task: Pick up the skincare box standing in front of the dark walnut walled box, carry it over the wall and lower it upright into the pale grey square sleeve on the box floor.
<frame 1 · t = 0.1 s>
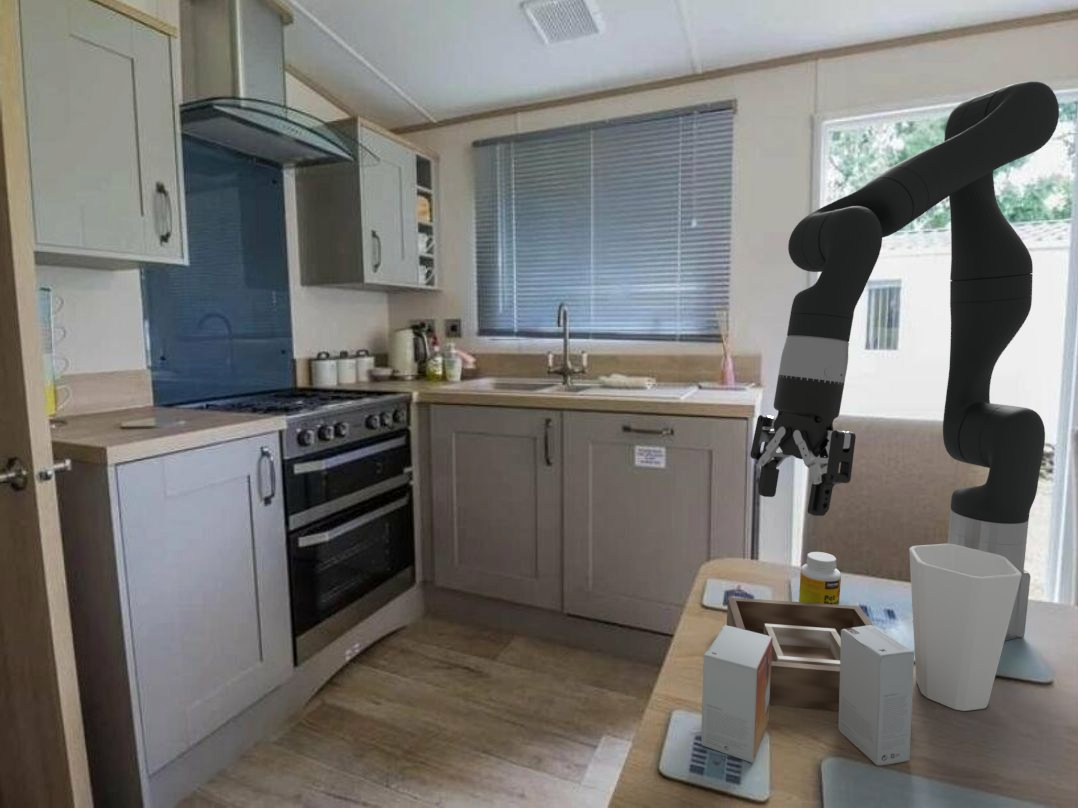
hand: (789, 504, 77), 22 cm above the table, tool pointing down, fingers open, 8 cm apart
supplement bottle: (817, 621, 94), on the table
cup: (950, 694, 75), on the table
skincare box: (870, 746, 66), on the table
small box: (735, 735, 68), on the table
walled box: (806, 668, 81), on the table
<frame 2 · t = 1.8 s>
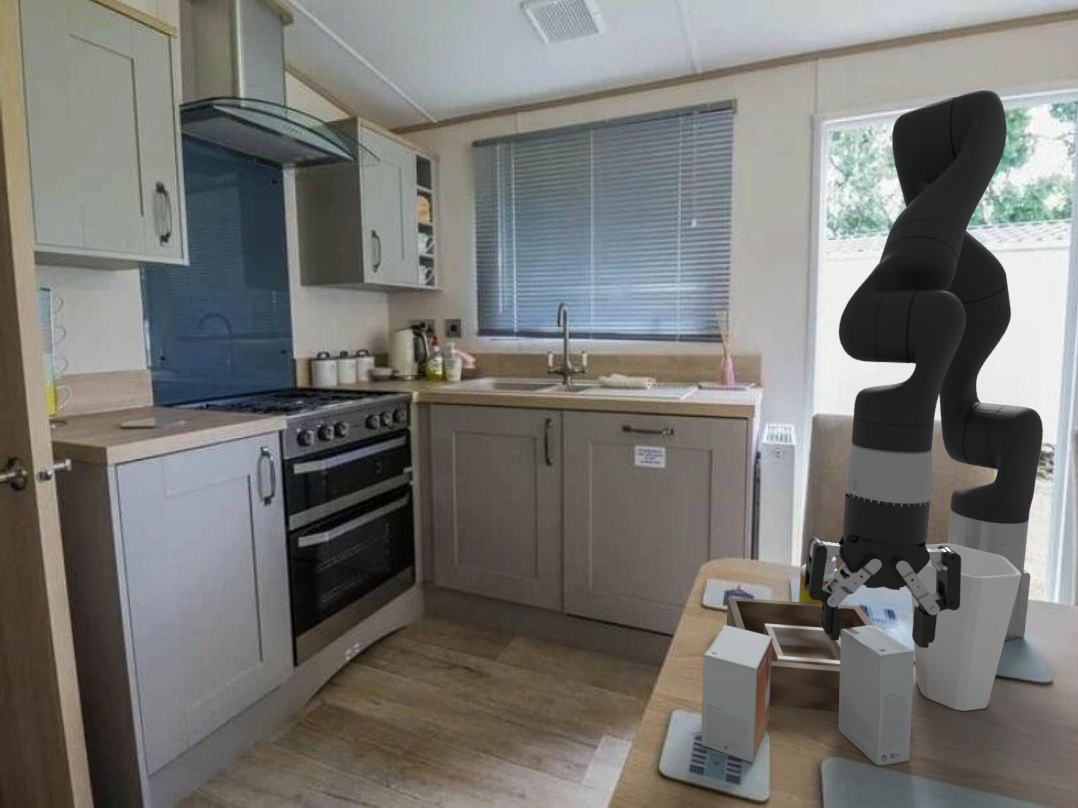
hand: (875, 640, 65), 12 cm above the table, tool pointing down, fingers open, 8 cm apart
nothing on the table moved.
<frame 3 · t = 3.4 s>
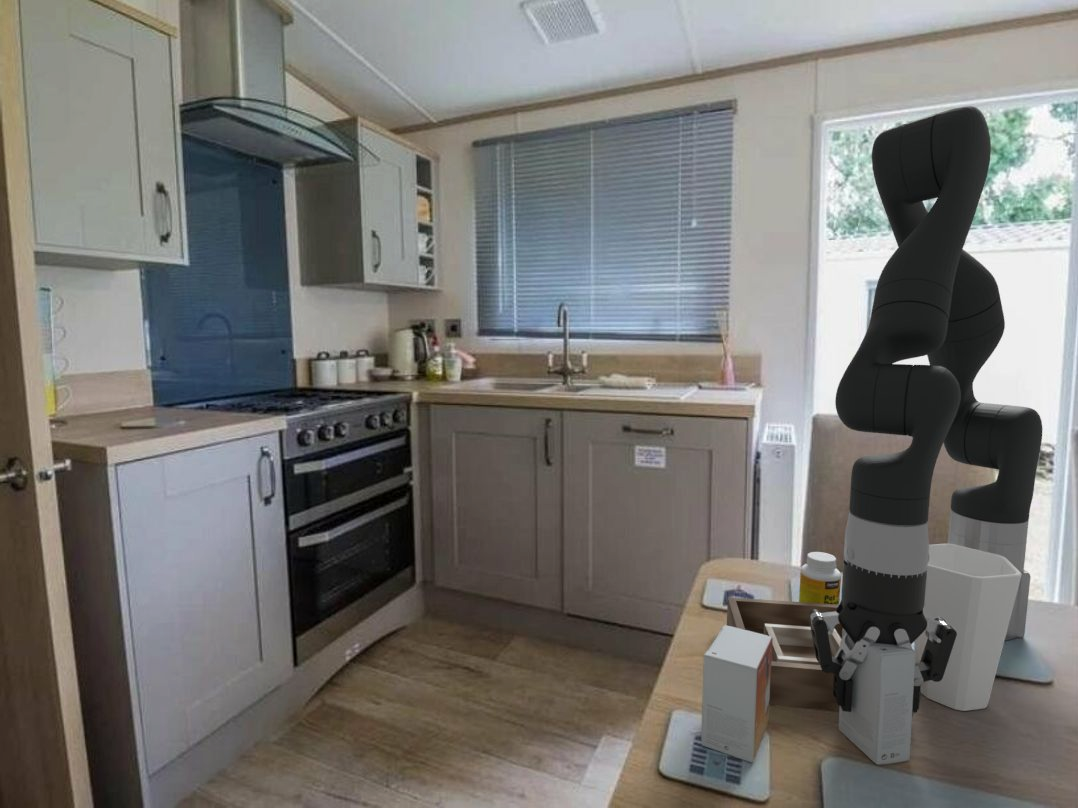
hand: (873, 709, 66), 4 cm above the table, tool pointing down, fingers closed on skincare box, 5 cm apart
skincare box: (870, 746, 66), on the table, touching gripper
everything else where it was.
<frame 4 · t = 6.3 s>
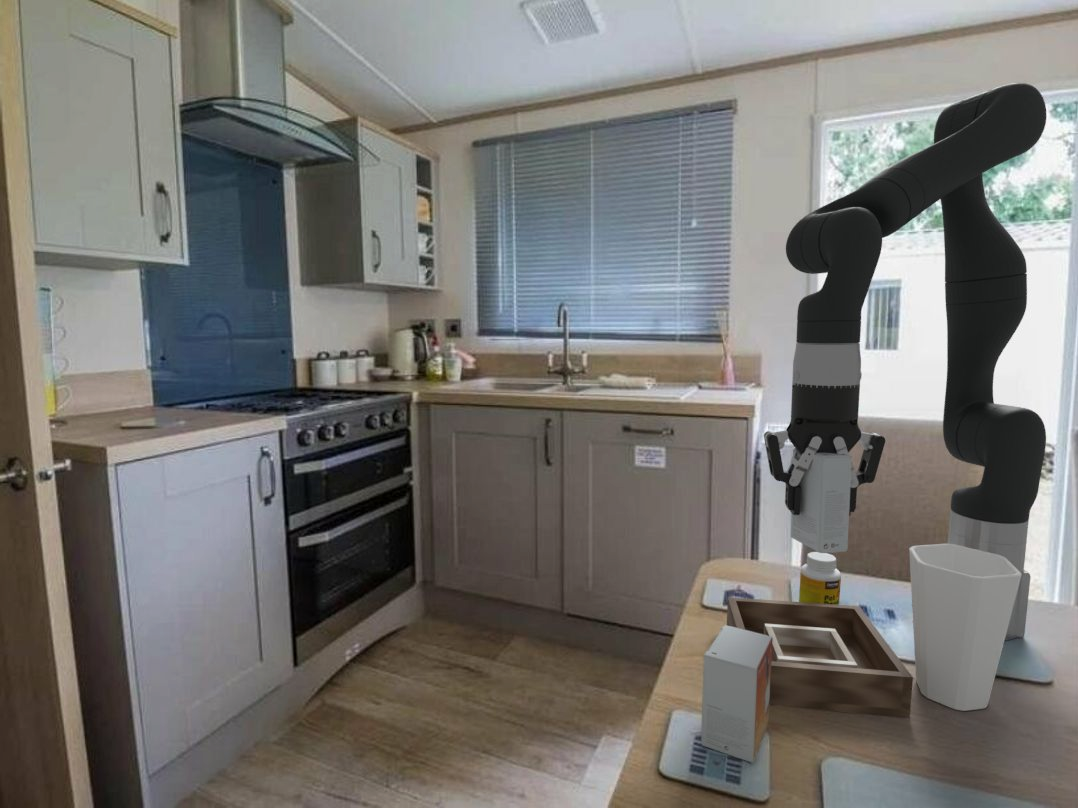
hand: (819, 513, 78), 21 cm above the table, tool pointing down, fingers closed on skincare box, 5 cm apart
skincare box: (816, 546, 78), point 17 cm above the table, touching gripper
everything else where it was.
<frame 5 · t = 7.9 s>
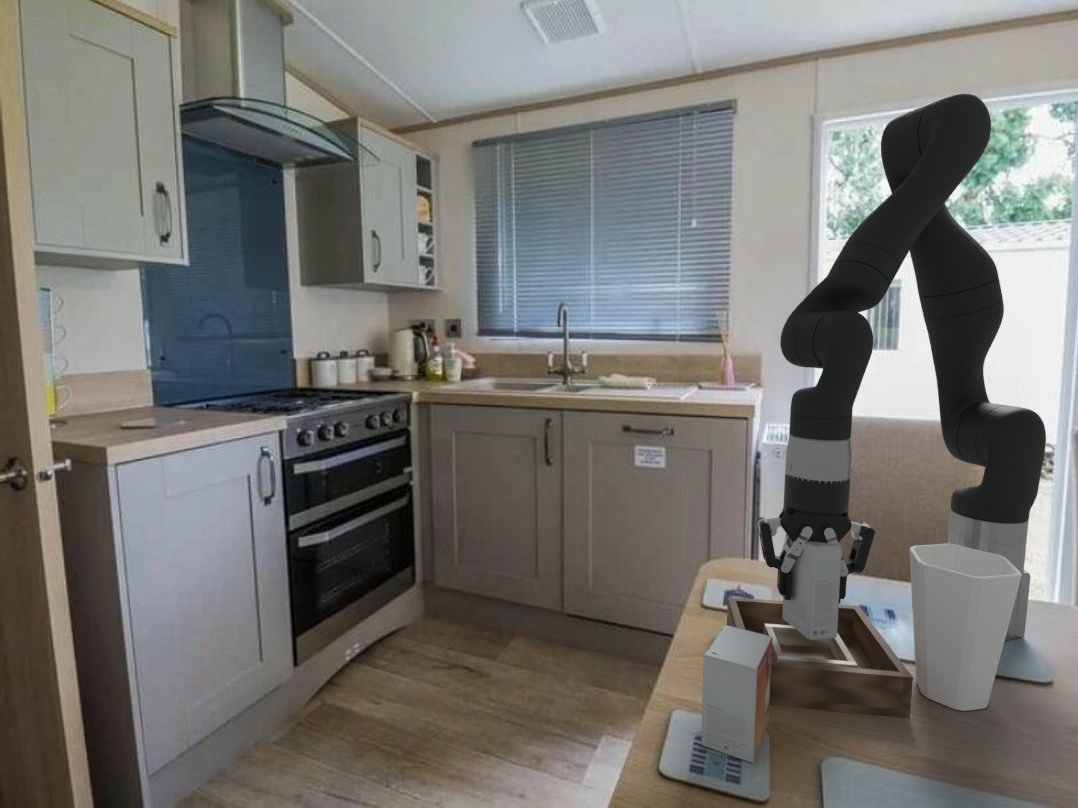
hand: (810, 598, 80), 10 cm above the table, tool pointing down, fingers closed on skincare box, 5 cm apart
skincare box: (806, 629, 80), point 5 cm above the table, touching gripper
everything else where it was.
when the fingers open (6 cm above the table, at t = 9.4 s): skincare box drops 1 cm, resting on walled box.
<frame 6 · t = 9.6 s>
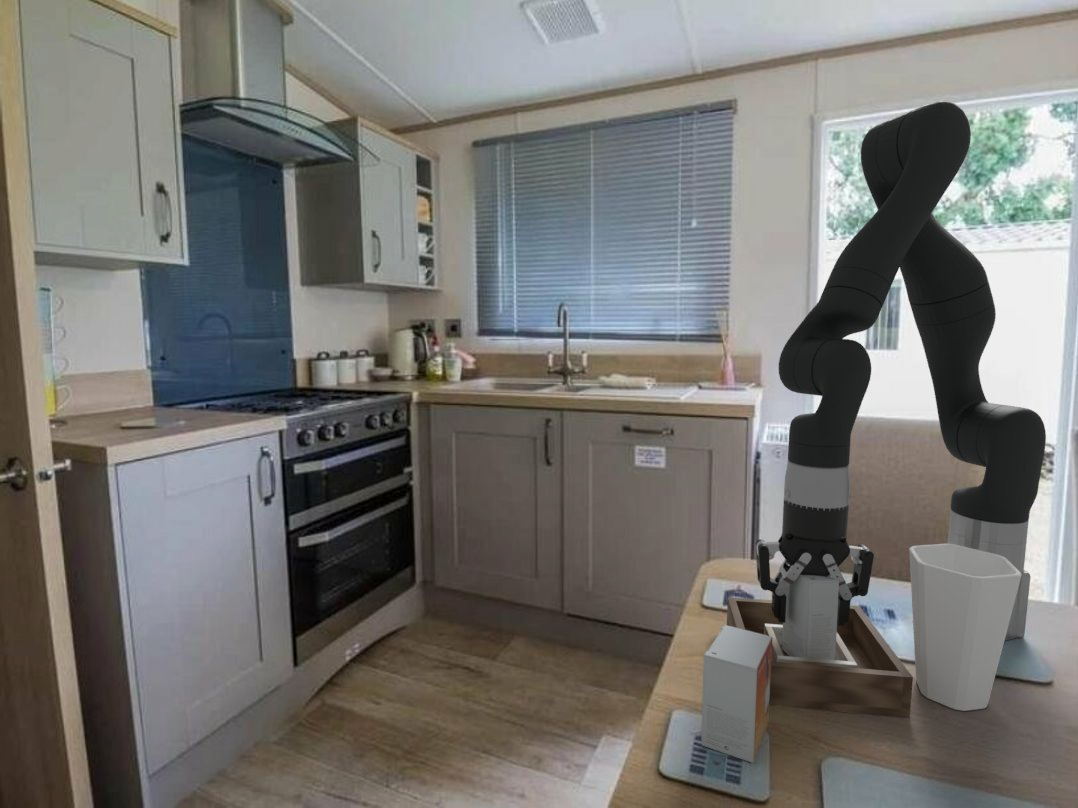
hand: (809, 621, 80), 6 cm above the table, tool pointing down, fingers open, 6 cm apart
skincare box: (805, 661, 81), point 1 cm above the table, touching walled box
everything else where it was.
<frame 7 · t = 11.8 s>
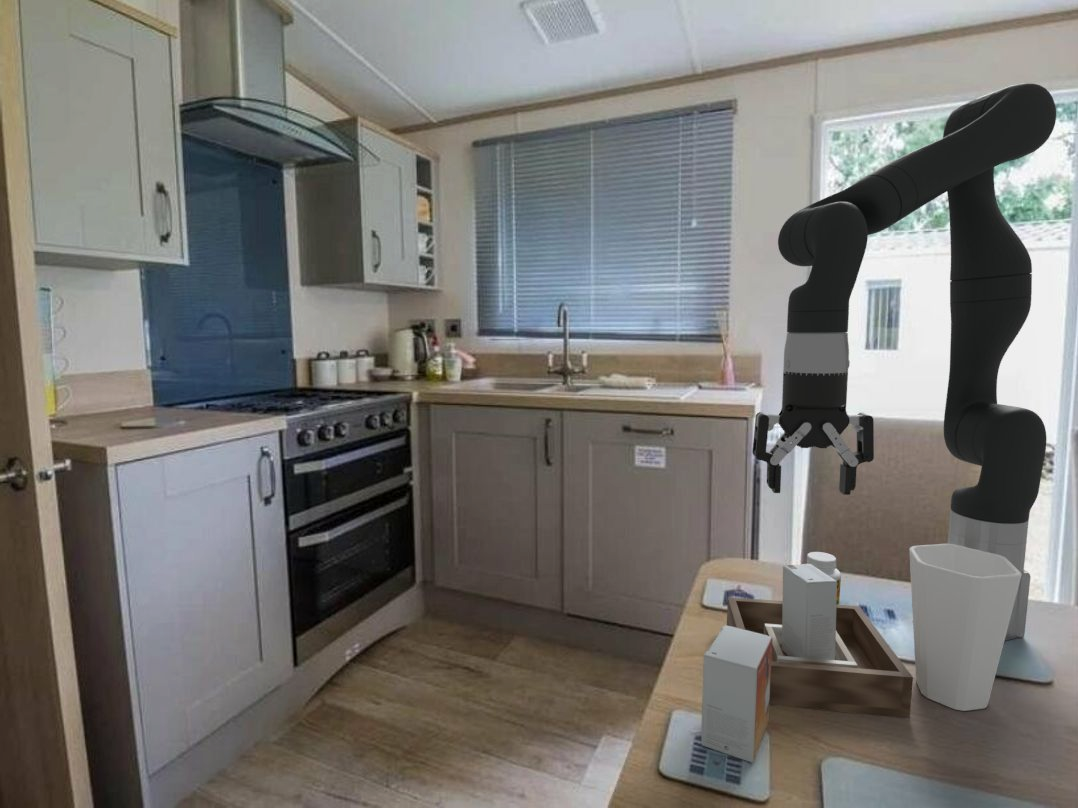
hand: (809, 492, 80), 23 cm above the table, tool pointing down, fingers open, 8 cm apart
nothing on the table moved.
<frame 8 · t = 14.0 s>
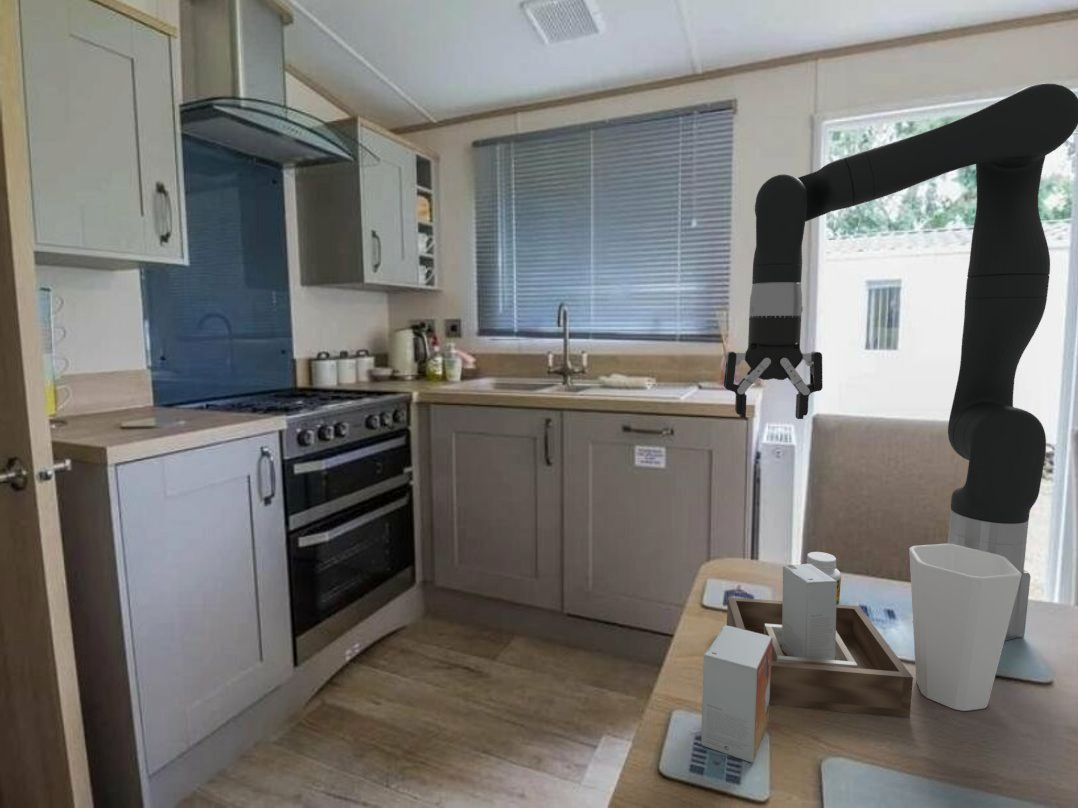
hand: (770, 418, 97), 30 cm above the table, tool pointing down, fingers open, 8 cm apart
nothing on the table moved.
at the end: skincare box 0.1 cm off-centre on the walled box, point 0.8 cm above the walled box's base; skincare box tilted 0°; the gripper is holding nothing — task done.
